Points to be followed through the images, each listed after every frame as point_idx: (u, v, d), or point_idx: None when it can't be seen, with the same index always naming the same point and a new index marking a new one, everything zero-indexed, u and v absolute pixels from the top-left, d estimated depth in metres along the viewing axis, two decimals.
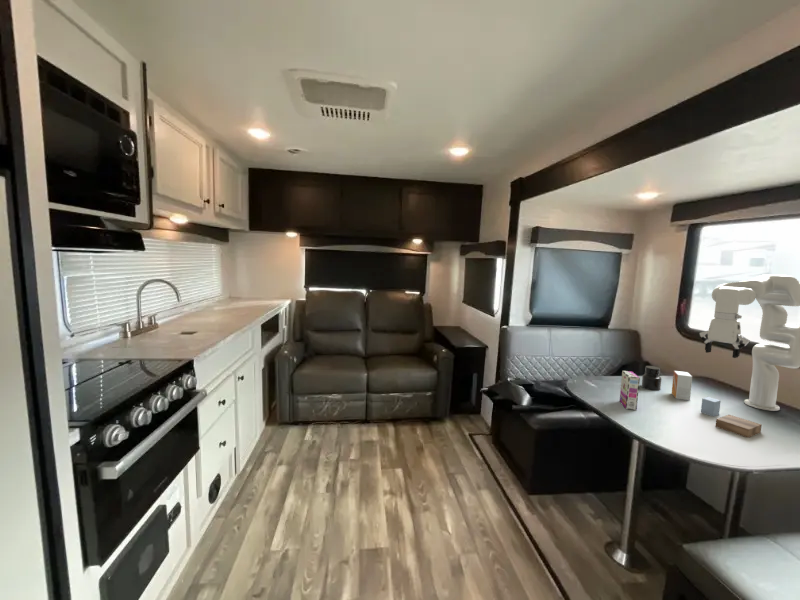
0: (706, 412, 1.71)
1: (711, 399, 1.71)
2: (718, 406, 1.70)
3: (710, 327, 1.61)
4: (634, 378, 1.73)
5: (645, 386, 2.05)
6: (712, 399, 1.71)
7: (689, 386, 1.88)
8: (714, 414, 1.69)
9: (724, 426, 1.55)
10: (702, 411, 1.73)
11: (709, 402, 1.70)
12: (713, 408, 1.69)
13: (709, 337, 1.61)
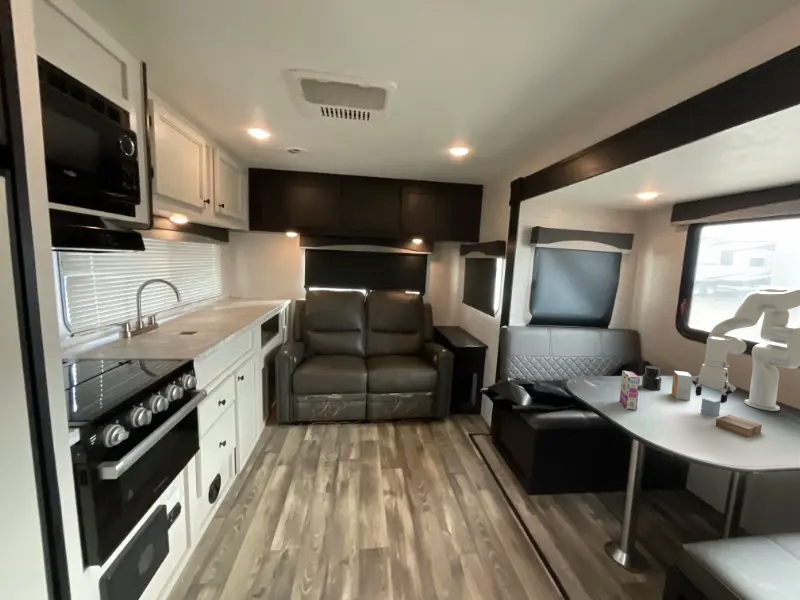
0: (706, 412, 1.71)
1: (711, 399, 1.71)
2: (718, 406, 1.70)
3: (700, 372, 1.73)
4: (634, 378, 1.73)
5: (645, 386, 2.05)
6: (712, 399, 1.71)
7: (689, 386, 1.88)
8: (714, 414, 1.69)
9: (724, 426, 1.55)
10: (702, 411, 1.73)
11: (709, 402, 1.70)
12: (713, 408, 1.69)
13: (699, 382, 1.73)
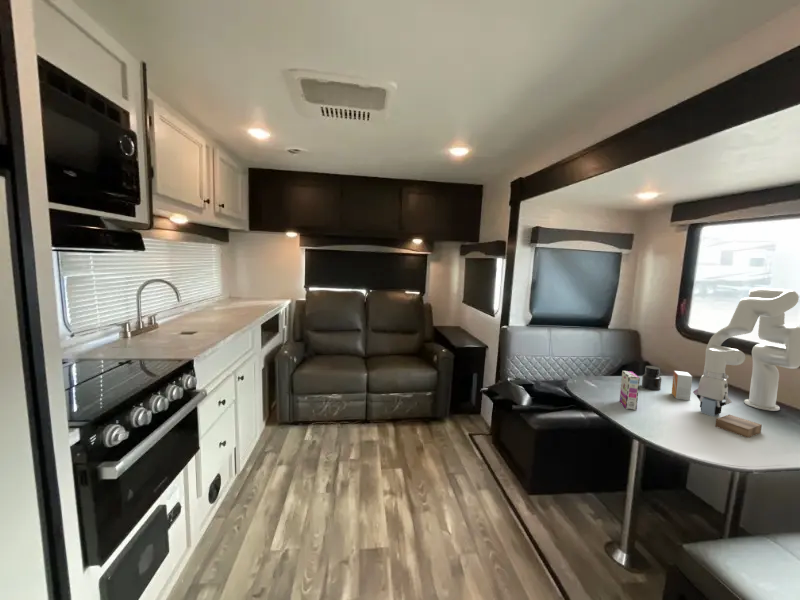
0: (706, 412, 1.71)
1: (711, 399, 1.71)
2: None
3: (700, 383, 1.73)
4: (634, 378, 1.73)
5: (645, 386, 2.05)
6: (712, 399, 1.71)
7: (689, 386, 1.88)
8: (714, 414, 1.69)
9: (724, 426, 1.55)
10: (702, 411, 1.73)
11: (709, 402, 1.70)
12: (713, 408, 1.69)
13: (699, 393, 1.74)
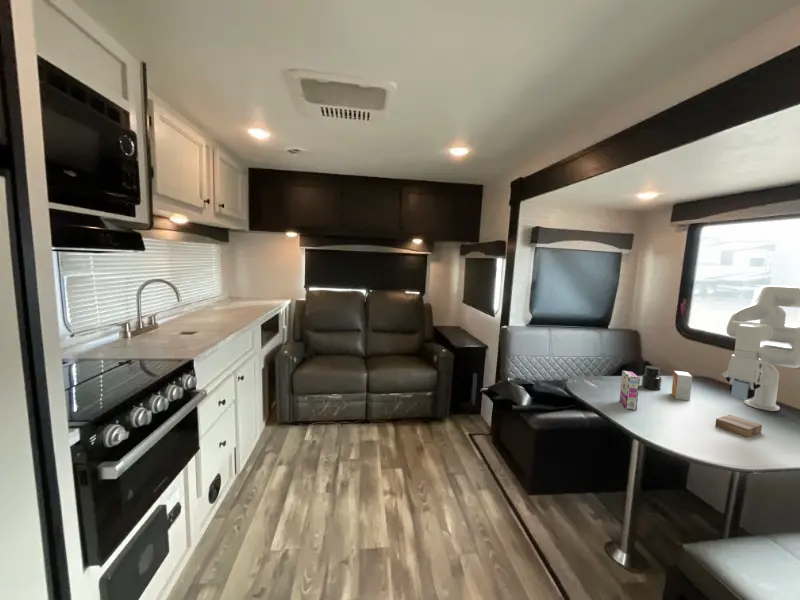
0: (737, 396, 1.53)
1: (743, 381, 1.53)
2: None
3: (730, 364, 1.55)
4: (634, 378, 1.73)
5: (645, 386, 2.05)
6: (743, 381, 1.53)
7: (689, 386, 1.88)
8: (747, 398, 1.51)
9: (724, 426, 1.56)
10: (732, 395, 1.55)
11: (740, 384, 1.52)
12: (745, 391, 1.51)
13: (729, 374, 1.56)
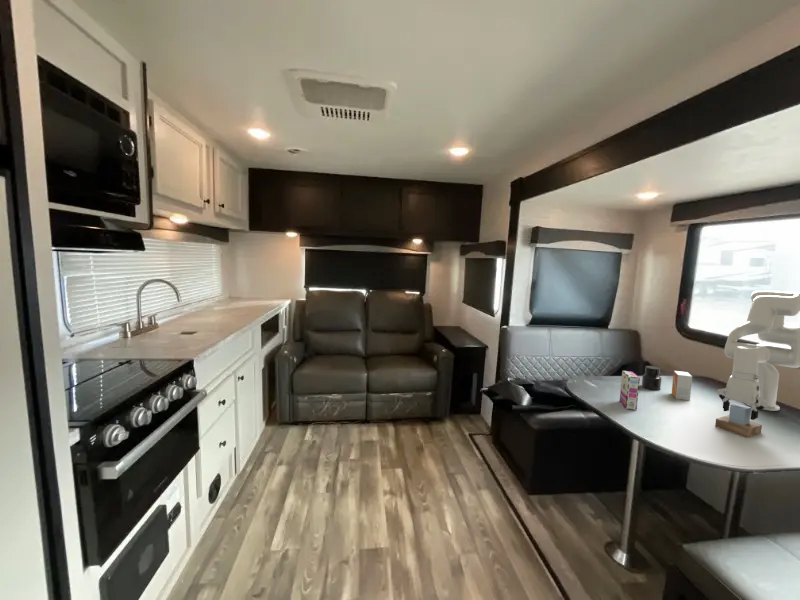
0: (735, 420, 1.54)
1: (740, 406, 1.54)
2: (748, 414, 1.53)
3: (728, 385, 1.56)
4: (634, 378, 1.73)
5: (645, 386, 2.05)
6: (741, 406, 1.54)
7: (689, 386, 1.88)
8: (744, 423, 1.52)
9: (723, 426, 1.56)
10: (730, 419, 1.56)
11: (738, 409, 1.53)
12: (743, 416, 1.52)
13: (727, 395, 1.57)
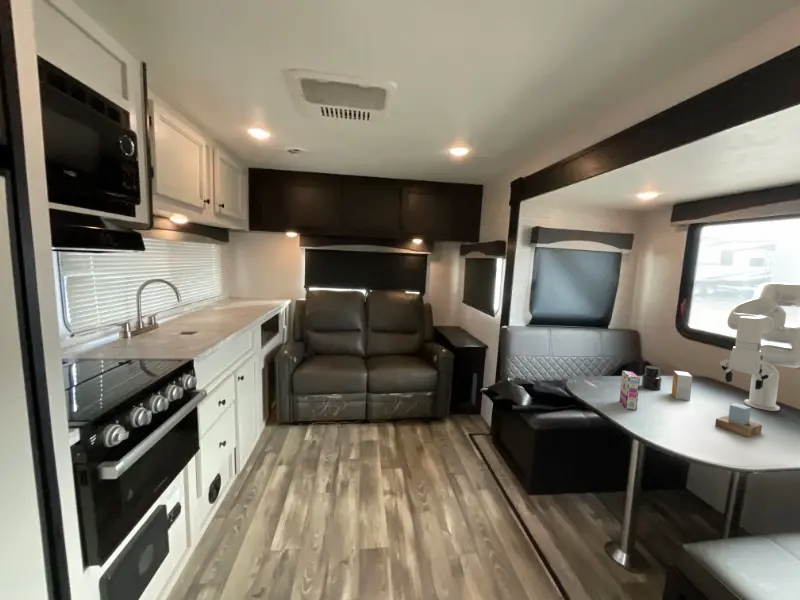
0: (734, 420, 1.54)
1: (740, 406, 1.54)
2: (748, 413, 1.53)
3: (731, 356, 1.55)
4: (634, 378, 1.73)
5: (645, 386, 2.05)
6: (741, 405, 1.55)
7: (689, 386, 1.88)
8: (744, 422, 1.52)
9: (723, 426, 1.56)
10: (730, 419, 1.56)
11: (738, 409, 1.53)
12: (743, 416, 1.52)
13: (730, 366, 1.56)
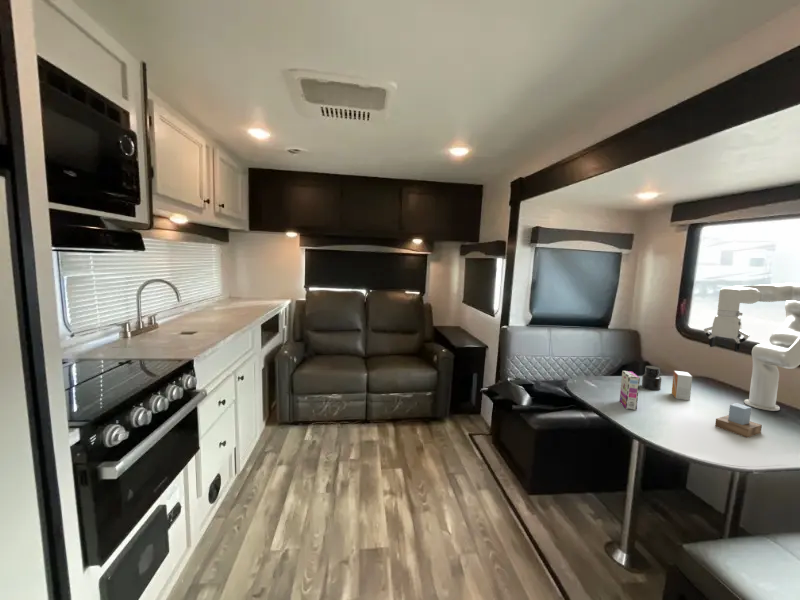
0: (734, 420, 1.55)
1: (740, 406, 1.55)
2: (748, 414, 1.53)
3: (714, 324, 1.76)
4: (634, 378, 1.73)
5: (645, 386, 2.05)
6: (741, 405, 1.55)
7: (689, 386, 1.88)
8: (743, 422, 1.52)
9: (723, 426, 1.56)
10: (730, 419, 1.56)
11: (737, 409, 1.53)
12: (742, 416, 1.52)
13: (713, 333, 1.77)
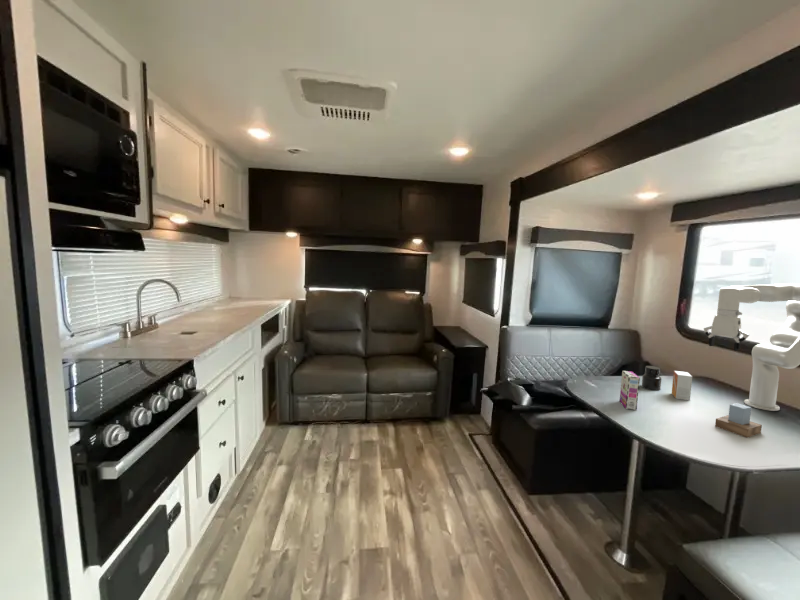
0: (734, 420, 1.55)
1: (740, 405, 1.55)
2: (748, 413, 1.53)
3: (713, 323, 1.77)
4: (634, 378, 1.73)
5: (645, 386, 2.05)
6: (741, 405, 1.55)
7: (689, 386, 1.88)
8: (743, 422, 1.52)
9: (723, 426, 1.56)
10: (730, 418, 1.56)
11: (737, 408, 1.54)
12: (742, 415, 1.52)
13: (712, 332, 1.77)
